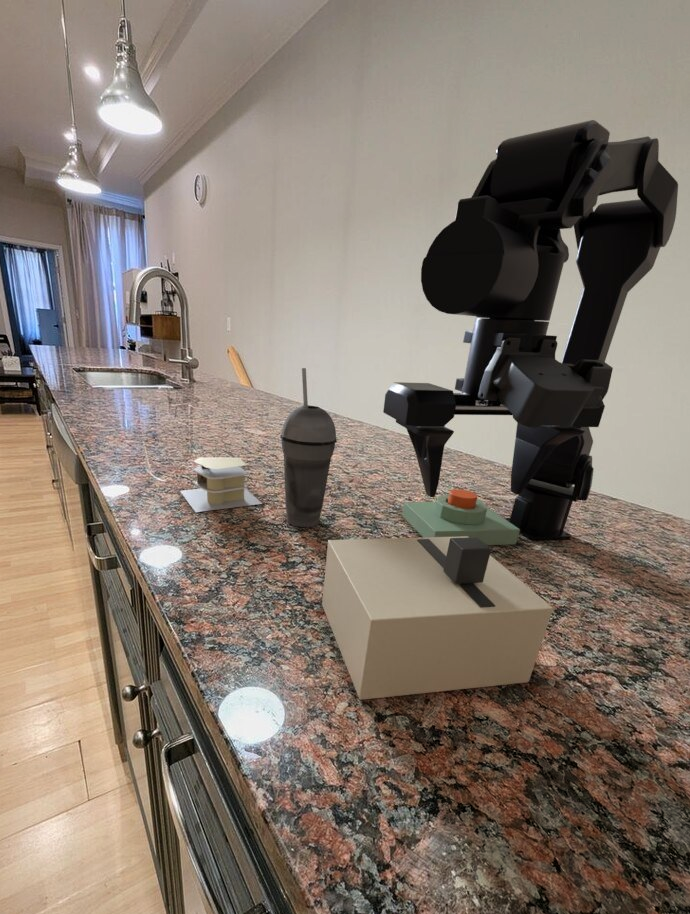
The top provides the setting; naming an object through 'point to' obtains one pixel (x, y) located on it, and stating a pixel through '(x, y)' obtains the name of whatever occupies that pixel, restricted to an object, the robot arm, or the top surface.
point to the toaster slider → (466, 560)
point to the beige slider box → (427, 619)
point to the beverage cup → (306, 460)
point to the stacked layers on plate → (219, 485)
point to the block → (459, 521)
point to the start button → (462, 499)
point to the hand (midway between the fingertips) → (473, 494)
